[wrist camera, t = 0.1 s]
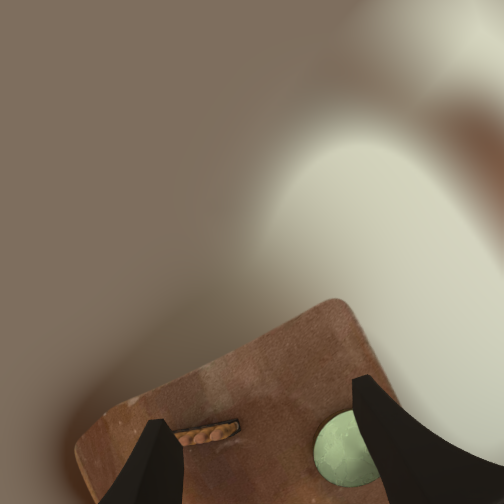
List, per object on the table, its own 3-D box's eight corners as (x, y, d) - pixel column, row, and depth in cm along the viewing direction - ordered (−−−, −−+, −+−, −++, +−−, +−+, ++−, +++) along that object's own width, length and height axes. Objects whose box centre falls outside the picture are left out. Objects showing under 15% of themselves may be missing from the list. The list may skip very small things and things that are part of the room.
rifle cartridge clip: (168, 444, 39) (129, 457, 28) (165, 432, 39) (125, 441, 29) (241, 430, 39) (223, 444, 28) (237, 418, 39) (218, 427, 29)
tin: (392, 463, 34) (404, 470, 29) (319, 486, 34) (322, 497, 30) (377, 396, 38) (388, 397, 34) (303, 418, 38) (305, 422, 34)
